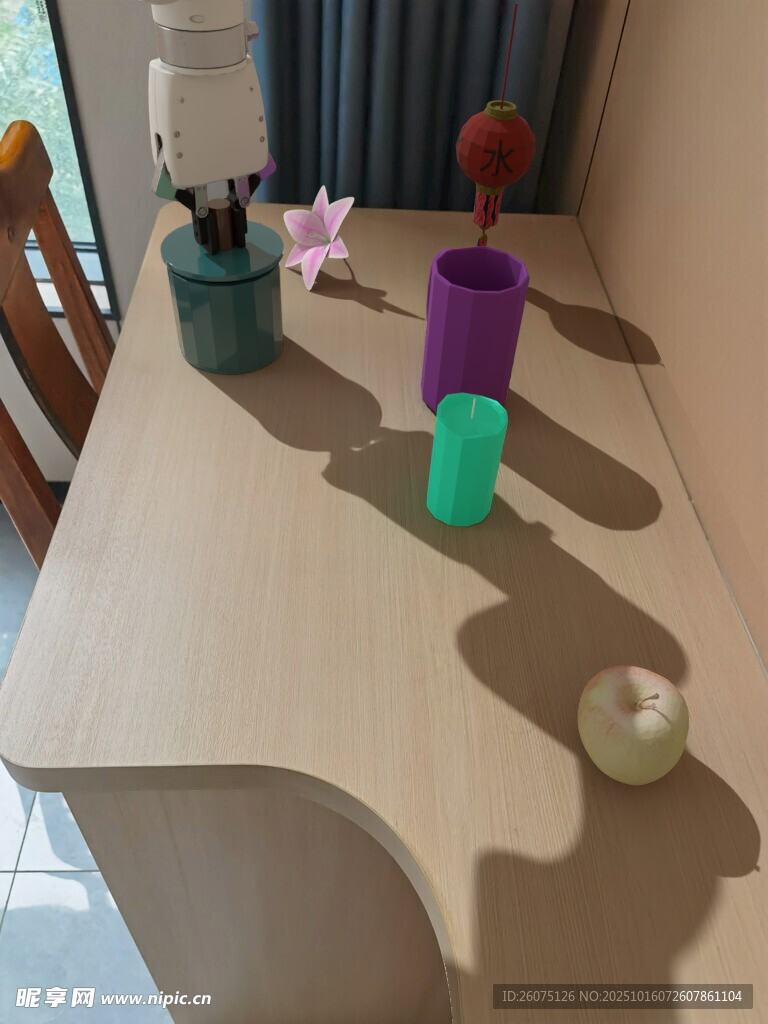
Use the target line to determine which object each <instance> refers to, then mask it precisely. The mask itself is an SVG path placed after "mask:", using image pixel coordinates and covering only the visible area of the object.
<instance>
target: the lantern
mask: <svg viewBox="0 0 768 1024" xmlns="http://www.w3.org/2000/svg"><path fill="white" fill-rule="evenodd" d="M518 5H519V4H518V3H517V2H515V3H514V9H513V17H512V22H511V30H510V37H509V43H508V44H509V45H508V51H507V57H506V58H507V59H506V66H505V73H504V79H503V85H502V93H501V99H500V100H499V99H498V100H496V99H495V100H490V101H488V102H487V103H486V107H485V108H484V110H483V111H480V112H478V113H476V114H474V115H472V116H471V117H470V118H469V119H468V120H467V121H466V123H464V124H463V126H462V127H461V129H460V131H459V134H458V137H457V140H456V142H455V151H456V160H457V163H458V165H459V167H460V169H461V170H462V171H463V173H464V175H465V176H466V177H467V178H468V179H470V180H471V181H473V182H474V185H475V189H476V191H475V198H474V206H473V215H472V222H473V223H474V224H475V225H477V226H478V227H479V228H480V230H482V232H480V233H479V234H478V236H477V241H476V247H477V246H482V247H487V244H488V239H489V238H488V234H486V233H485V232H486V230H489V229H490V228H492V227H495V226H497V224H498V222H499V217H500V209H501V204H502V197H503V192H504V191H505V190H504V189H505V188H506V187H507V186H508V185H509V186H510V185H512V184H515V183H516V182H518V181H519V180H520V179H521V178H522V177H523V176H524V175H525V174H526V173H528V172H529V170H530V167H531V165H532V162H533V160H534V157H535V155H536V151H537V150H536V136H535V134H534V133H533V131H532V129H531V127H530V125H529V123H528V122H527V120H526V119H525V118H523V117H522V116H521V115H519V113H518V111H517V105H516V104H515V103H513V102H511V101H507V100H505V94H506V88H507V80H508V74H509V67H510V60H511V59H510V58H511V53H512V45H513V39H514V33H515V26H516V25H515V24H516V19H517V10H518Z"/></svg>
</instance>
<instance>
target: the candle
mask: <svg viewBox="0 0 768 1024" xmlns="http://www.w3.org/2000/svg"><path fill="white" fill-rule="evenodd" d="M435 417H436V418H435V424H434V432H433V440H432V441H433V442H432V450H431V459H430V467H429V475H428V484H427V491H426V493H427V494H426V508H427V510H429V512H430V513H431V515H432V517H434V519H435V520H436V519H437V520H438V521H440V522H442V523H445V524H447V525H449V526H457V527H470V526H473V525H475V524H478V523H482V522H483V521H484V520H485V518H486V517H487V516H488V515H489V513H490V512H491V508H492V504H493V498H494V493H495V489H496V484H497V480H498V479H497V478H498V475H499V470H500V469H499V468H500V465H501V458H502V453H503V448H504V445H505V439H506V434H507V429H508V424H509V419H508V411H507V410H506V409H505V407H503V406H501V405H500V404H499V403H498V402H497V401H495V400H492V399H489V398H486V397H483V396H480V395H474V394H467V393H457V394H448V395H446V397H445V398H444V399H443V400H442V401H441V402H440V403H439V404H438V407H437V413H436V415H435Z"/></svg>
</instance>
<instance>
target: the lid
mask: <svg viewBox="0 0 768 1024" xmlns="http://www.w3.org/2000/svg"><path fill="white" fill-rule="evenodd" d="M208 208H209V213H210V214H212V215H213V216H214V218H215V226H216V236H217V245H218V252H217V254H214V255H211V254H209V253H208V252H207V251H206V250H205V249H204V248H203V247H202V246H201V245H199V244H198V243H197V242H196V240H195V237H194V230H193V222H190V223H187V224H183V225H181V226H179V227H177V228H175V229H174V230H172V231H171V232H169V233H168V234H167V235H166V236H165V237H164V238H163V240H162V241H161V242H160V243H161V244H160V250H159V251H160V257H161V259H162V261H163V264H164V265H165V266H166V268H167V267H169V268H170V269H171V270H173V271H174V272H176V273H178V274H180V275H183V276H185V277H188V278H192V279H197V280H202V281H213V282H227V281H237V280H243V279H248V278H252V277H255V276H258V275H261V274H263V273H265V272H267V271H269V270H271V269H272V268H273V267H275V266H276V265H277V264H278V263H279V262H280V263H281V261H282V259H283V257H284V255H285V254H284V253H285V243H284V241H283V238H282V237H281V236H280V234H278V233H277V231H275V230H274V229H272V228H271V227H269V226H267V225H264V224H262V223H259V222H257V221H252V220H248V219H247V228H248V232H247V234H245V239H246V246H245V247H241V248H240V247H238V246H237V245H236V244H235V243H234V234H233V223H232V212H231V203H230V201H228V200H226V199H224V198H223V197H222V198H219V197H218V198H217V197H216V198H212V199H208Z"/></svg>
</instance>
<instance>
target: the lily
mask: <svg viewBox="0 0 768 1024" xmlns="http://www.w3.org/2000/svg"><path fill="white" fill-rule="evenodd" d="M354 202H355V197H353V196H348V197H344V198H341V199H338V200H336V201H333V202H332V203H330V204H329V198H328V194H327V188H326V186H325V185H322V186H321V187H320V188H319V191H318V193H317V195H316V197H315V200H314V202H313V205H312V209H311V210H307V209H290V210H287V211H285V212H284V213H283V221H284V224H285V227H286V229H287V231H288V233H289V235H290V236H291V238H292V239H293V240H294V241H295V242H296V243H295V245H294V246H293V247H292V249H291V251H290V252H289V255H288V256H287V258H286V261H285V263H284V267H285V268H289V267H293V266H295V265H298V264H300V267H301V274H302V279H303V283H304V286H305V288H306V290H307V291H310V290H312V288H313V286H314V283H315V281H316V278H317V276H318V273H319V270H320V269H321V266H322V264H323V262H324V260H325V259H326V258H328V259H342V260H343V261H344V262H347V258H348V257H350V256H349V254H350V253H349V252H348V249H347V247H346V244H345V243H344V241H343V239H342V237H341V236H340V235H339V233H338V232H339V230H340V227H341V225H342V223H343V220H345V218H346V216H347V215H348V213H349V211H350V209H352V206H353V204H354Z"/></svg>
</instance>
